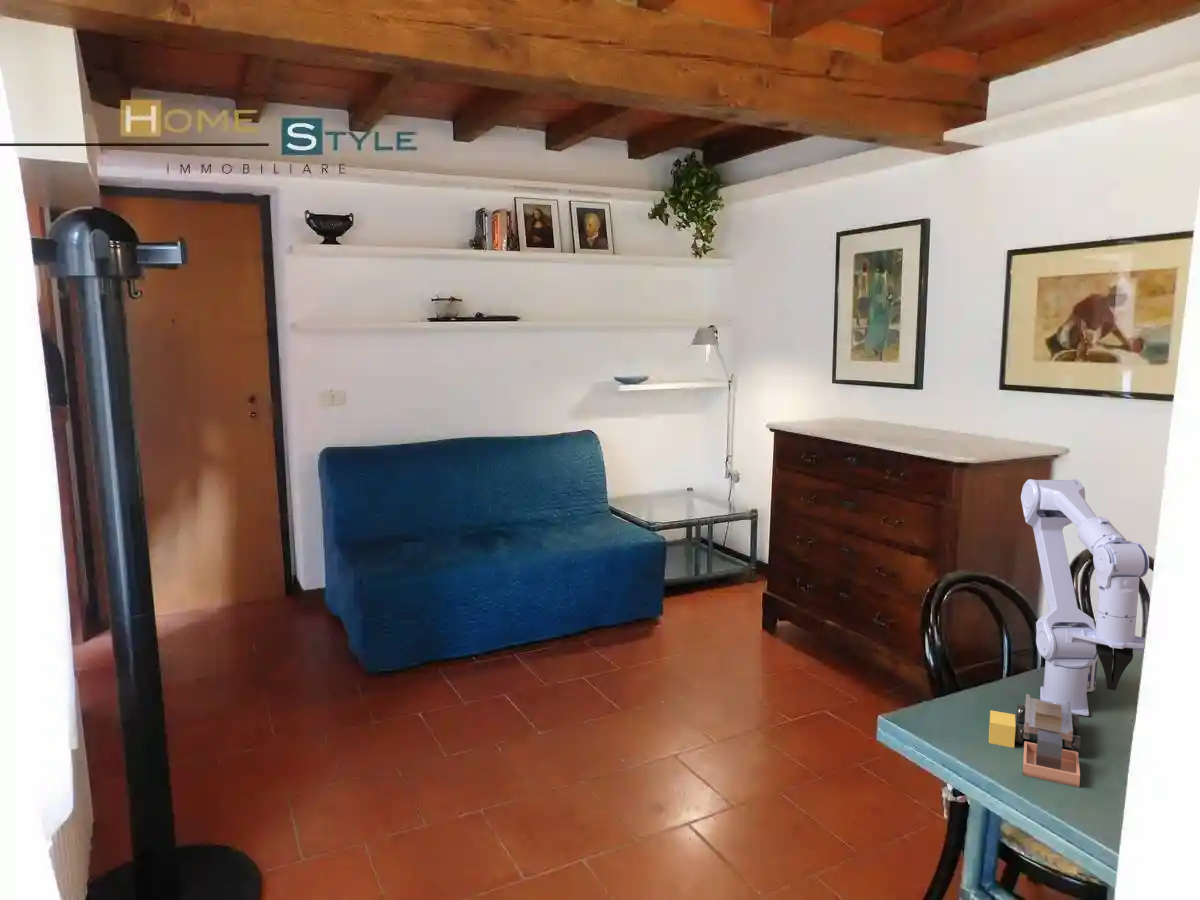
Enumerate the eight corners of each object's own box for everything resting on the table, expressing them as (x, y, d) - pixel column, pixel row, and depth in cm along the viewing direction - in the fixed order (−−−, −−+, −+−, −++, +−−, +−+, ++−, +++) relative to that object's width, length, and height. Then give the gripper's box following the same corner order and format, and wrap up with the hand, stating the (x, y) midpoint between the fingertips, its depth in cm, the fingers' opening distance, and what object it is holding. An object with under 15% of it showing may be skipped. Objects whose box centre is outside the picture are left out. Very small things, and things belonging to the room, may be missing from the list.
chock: (989, 730, 148) (990, 710, 147) (1013, 735, 146) (1015, 714, 146) (988, 743, 143) (990, 722, 143) (1014, 748, 142) (1015, 727, 141)
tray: (1023, 752, 140) (1024, 741, 140) (1077, 763, 137) (1078, 752, 136) (1022, 774, 133) (1023, 763, 133) (1079, 787, 130) (1080, 775, 129)
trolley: (1016, 716, 153) (1018, 687, 152) (1076, 728, 148) (1079, 698, 147) (1014, 746, 142) (1016, 715, 141) (1079, 759, 138) (1082, 727, 137)
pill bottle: (1076, 679, 168) (1080, 634, 166) (1101, 689, 163) (1105, 643, 162) (1058, 684, 166) (1061, 638, 164) (1082, 694, 161) (1086, 648, 159)
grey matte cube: (1035, 758, 137) (1037, 730, 137) (1059, 762, 136) (1061, 735, 135) (1035, 768, 134) (1038, 739, 134) (1060, 773, 133) (1062, 744, 132)
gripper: (1068, 613, 139) (1063, 688, 141) (1171, 626, 132) (1164, 705, 134) (1067, 601, 145) (1062, 673, 147) (1165, 613, 138) (1159, 688, 140)
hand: (1110, 687), depth 141 cm, fingers closed
